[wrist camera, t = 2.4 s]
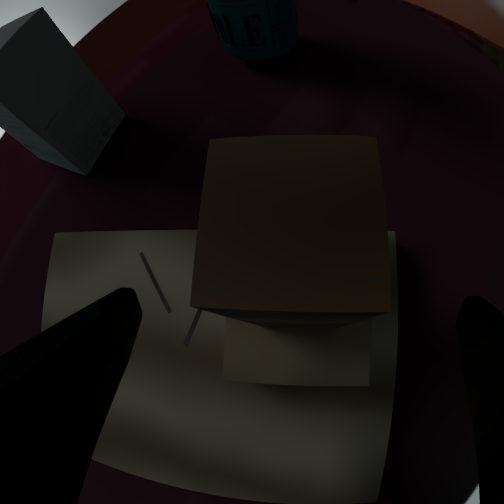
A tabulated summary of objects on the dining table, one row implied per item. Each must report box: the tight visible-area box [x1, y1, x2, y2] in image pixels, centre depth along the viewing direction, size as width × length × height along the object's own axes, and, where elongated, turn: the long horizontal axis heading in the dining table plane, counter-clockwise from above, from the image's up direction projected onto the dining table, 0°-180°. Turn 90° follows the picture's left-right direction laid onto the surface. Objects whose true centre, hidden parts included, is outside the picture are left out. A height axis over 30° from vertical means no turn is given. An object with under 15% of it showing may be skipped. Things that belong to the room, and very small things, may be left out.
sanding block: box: [190, 135, 390, 386], centre depth 10 cm, size 8×6×11 cm
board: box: [41, 230, 398, 504], centre depth 16 cm, size 15×22×2 cm
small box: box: [0, 7, 125, 175], centre depth 17 cm, size 8×6×13 cm
